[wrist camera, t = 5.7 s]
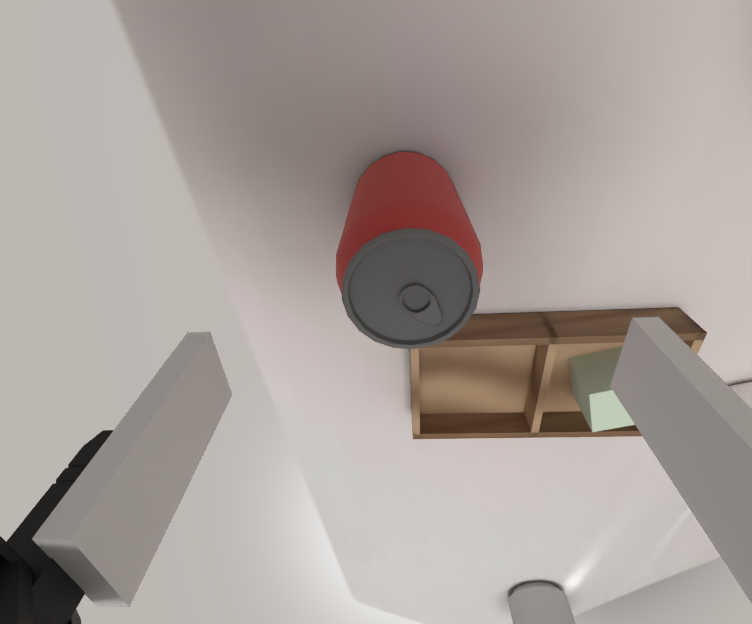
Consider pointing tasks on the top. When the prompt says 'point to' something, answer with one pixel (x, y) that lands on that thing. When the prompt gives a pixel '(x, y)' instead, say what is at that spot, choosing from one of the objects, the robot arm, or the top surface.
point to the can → (540, 605)
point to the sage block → (598, 389)
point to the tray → (520, 373)
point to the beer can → (408, 254)
